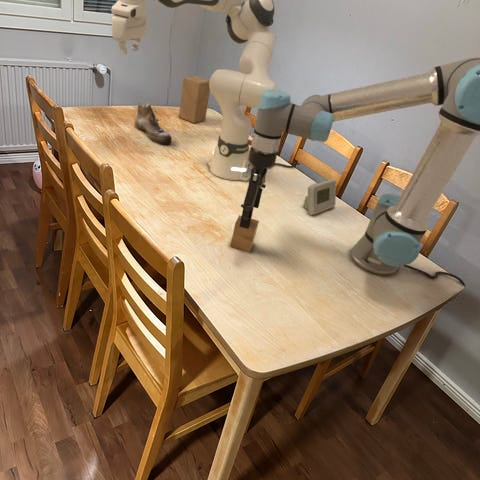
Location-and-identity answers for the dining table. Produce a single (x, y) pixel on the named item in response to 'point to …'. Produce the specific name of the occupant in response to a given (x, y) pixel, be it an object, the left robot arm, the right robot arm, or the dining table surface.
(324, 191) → the digital clock
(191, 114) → the wooden block
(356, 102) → the right robot arm
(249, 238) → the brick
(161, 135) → the shoe
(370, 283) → the dining table surface
